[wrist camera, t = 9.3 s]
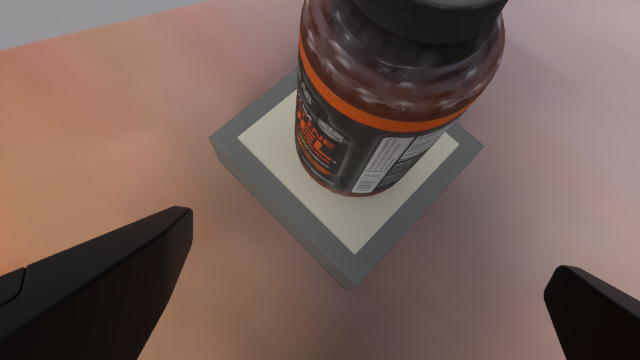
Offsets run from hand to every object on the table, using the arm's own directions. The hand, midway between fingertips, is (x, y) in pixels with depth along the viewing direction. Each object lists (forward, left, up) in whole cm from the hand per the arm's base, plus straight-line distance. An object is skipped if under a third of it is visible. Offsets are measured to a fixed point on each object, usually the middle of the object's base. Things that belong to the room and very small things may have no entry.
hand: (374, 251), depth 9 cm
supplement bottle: (+5, +4, -8) cm, 10 cm away
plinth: (+5, +4, -11) cm, 13 cm away
